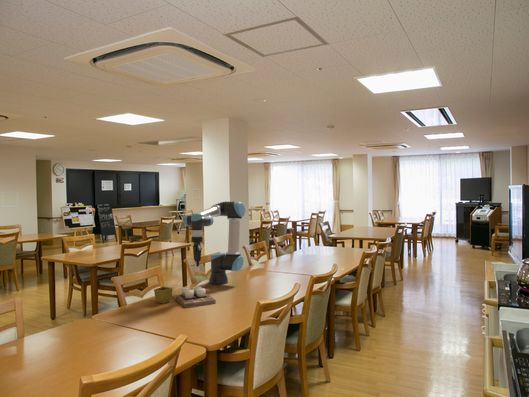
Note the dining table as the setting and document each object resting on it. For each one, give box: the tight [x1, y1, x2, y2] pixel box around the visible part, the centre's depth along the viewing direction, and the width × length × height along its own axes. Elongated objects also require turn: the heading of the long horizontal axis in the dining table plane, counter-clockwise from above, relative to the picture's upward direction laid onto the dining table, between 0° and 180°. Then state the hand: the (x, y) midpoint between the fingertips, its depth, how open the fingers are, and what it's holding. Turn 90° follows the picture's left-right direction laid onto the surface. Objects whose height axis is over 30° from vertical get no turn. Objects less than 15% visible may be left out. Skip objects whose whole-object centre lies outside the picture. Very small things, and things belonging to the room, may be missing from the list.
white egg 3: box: [197, 287, 206, 297], centre depth 260 cm, size 6×6×4 cm
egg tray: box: [174, 292, 216, 309], centre depth 259 cm, size 24×20×3 cm
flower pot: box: [153, 286, 174, 304], centre depth 256 cm, size 9×9×9 cm
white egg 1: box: [181, 286, 191, 295], centre depth 263 cm, size 6×6×4 cm
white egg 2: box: [192, 285, 203, 294], centre depth 267 cm, size 6×6×4 cm
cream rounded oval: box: [185, 289, 194, 298], centre depth 256 cm, size 6×6×4 cm
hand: (197, 270), depth 267 cm, fingers closed
